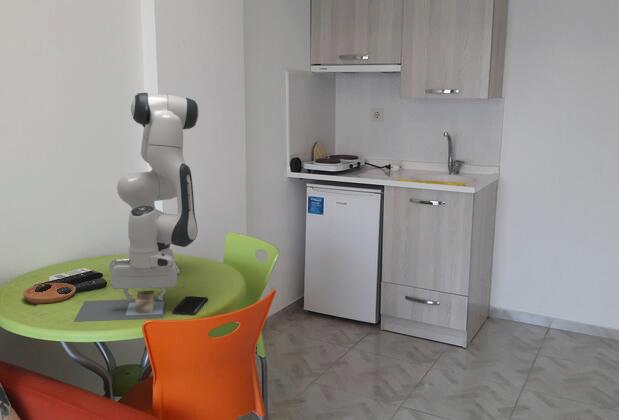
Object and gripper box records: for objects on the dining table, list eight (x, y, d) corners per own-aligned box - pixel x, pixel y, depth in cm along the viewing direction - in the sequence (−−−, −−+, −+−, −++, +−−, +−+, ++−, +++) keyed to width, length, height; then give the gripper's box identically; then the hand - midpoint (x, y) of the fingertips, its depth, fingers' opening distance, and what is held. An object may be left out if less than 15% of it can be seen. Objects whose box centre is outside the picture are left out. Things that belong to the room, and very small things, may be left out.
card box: (135, 313, 189) (135, 300, 188) (138, 303, 198) (138, 291, 197) (152, 313, 190) (152, 300, 189) (154, 302, 199) (154, 290, 198)
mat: (84, 302, 199) (84, 300, 199) (166, 299, 204) (166, 297, 204) (73, 323, 182) (73, 321, 182) (163, 320, 186) (163, 318, 186)
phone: (208, 297, 205) (194, 313, 190) (208, 300, 205) (195, 316, 191) (186, 295, 206) (170, 311, 191) (186, 299, 206) (170, 315, 192)
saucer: (75, 288, 213) (74, 280, 213) (76, 303, 199) (76, 295, 198) (24, 293, 207) (24, 284, 207) (22, 309, 193) (21, 300, 192)
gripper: (107, 262, 186) (109, 305, 189) (176, 260, 189) (177, 303, 192) (110, 256, 192) (112, 298, 195) (177, 255, 195) (178, 296, 198)
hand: (145, 300), depth 193 cm, fingers open, 8 cm apart
